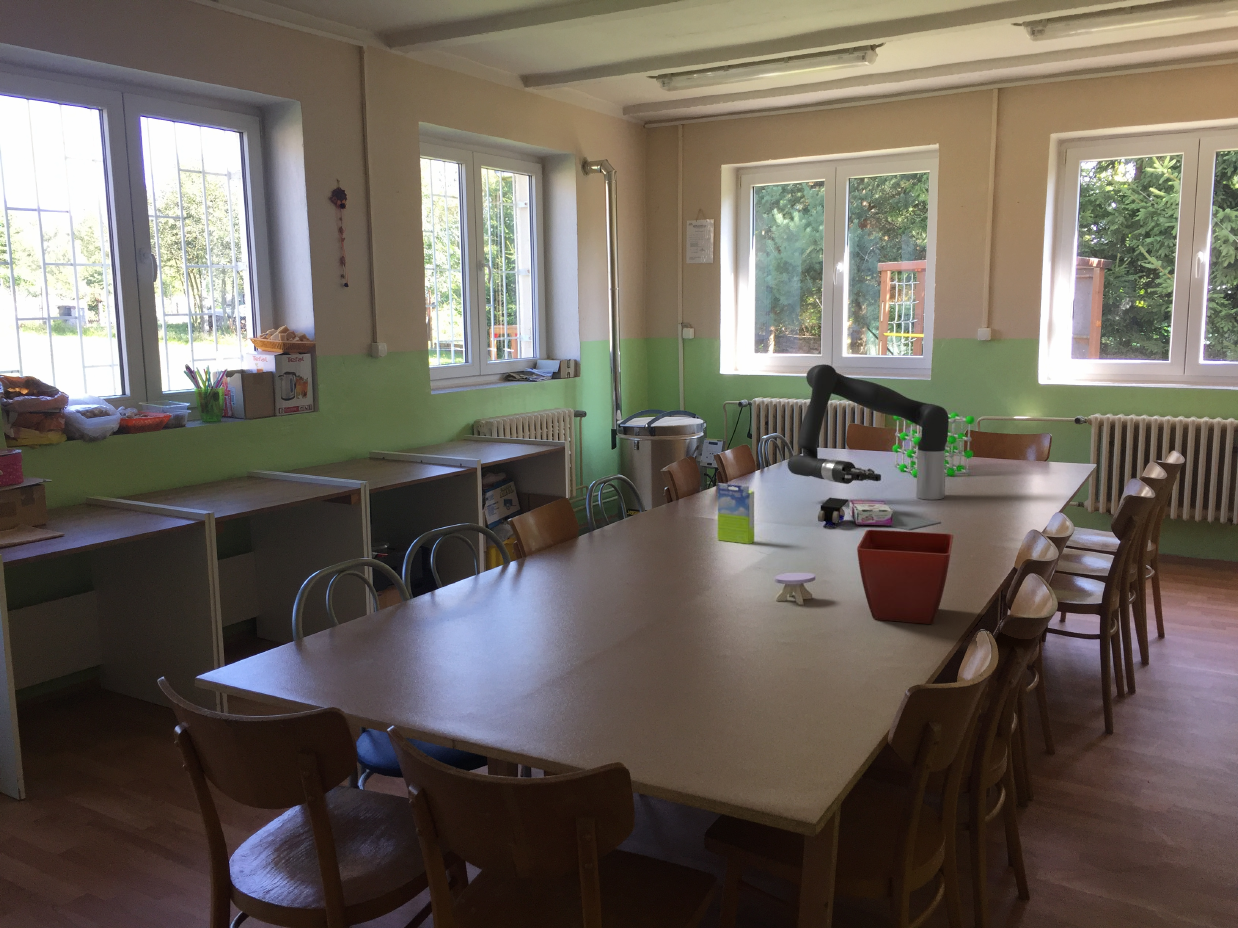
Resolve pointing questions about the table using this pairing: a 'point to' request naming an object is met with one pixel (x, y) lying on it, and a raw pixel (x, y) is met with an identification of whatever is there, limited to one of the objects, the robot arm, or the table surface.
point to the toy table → (794, 586)
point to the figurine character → (832, 511)
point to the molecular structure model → (954, 417)
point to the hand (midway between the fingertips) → (879, 477)
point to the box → (735, 514)
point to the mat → (910, 522)
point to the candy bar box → (870, 512)
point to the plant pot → (904, 573)
